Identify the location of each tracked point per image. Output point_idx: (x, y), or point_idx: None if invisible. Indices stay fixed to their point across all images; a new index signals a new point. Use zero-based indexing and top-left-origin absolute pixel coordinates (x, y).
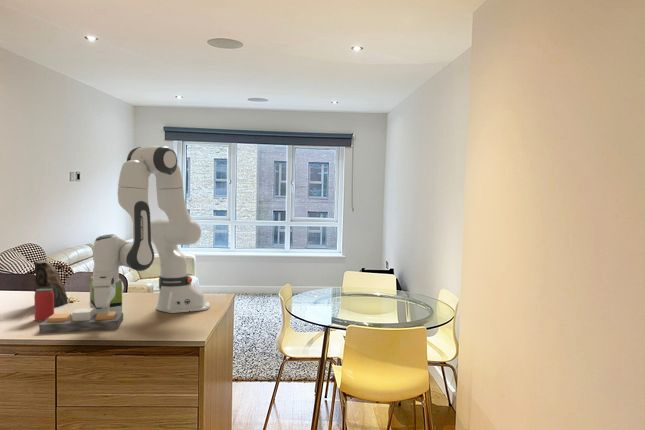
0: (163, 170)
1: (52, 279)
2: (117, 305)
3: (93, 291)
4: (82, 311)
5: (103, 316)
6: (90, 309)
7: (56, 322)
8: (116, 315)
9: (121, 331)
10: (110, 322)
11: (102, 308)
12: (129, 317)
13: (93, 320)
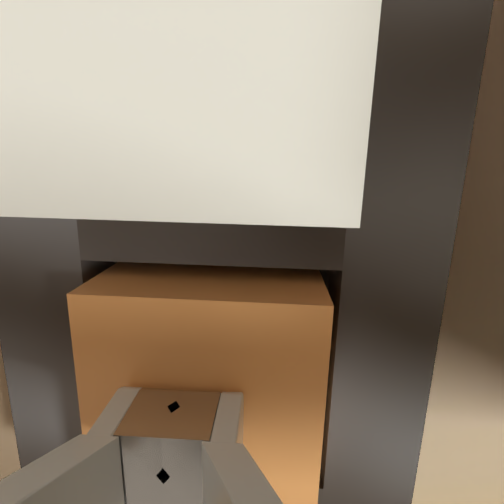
0: None
1: None
2: None
3: None
4: (68, 20)
5: (84, 386)
6: (238, 176)
7: None
8: (323, 466)
9: (3, 467)
10: (27, 431)
11: (31, 467)
12: (467, 501)
13: (66, 248)
